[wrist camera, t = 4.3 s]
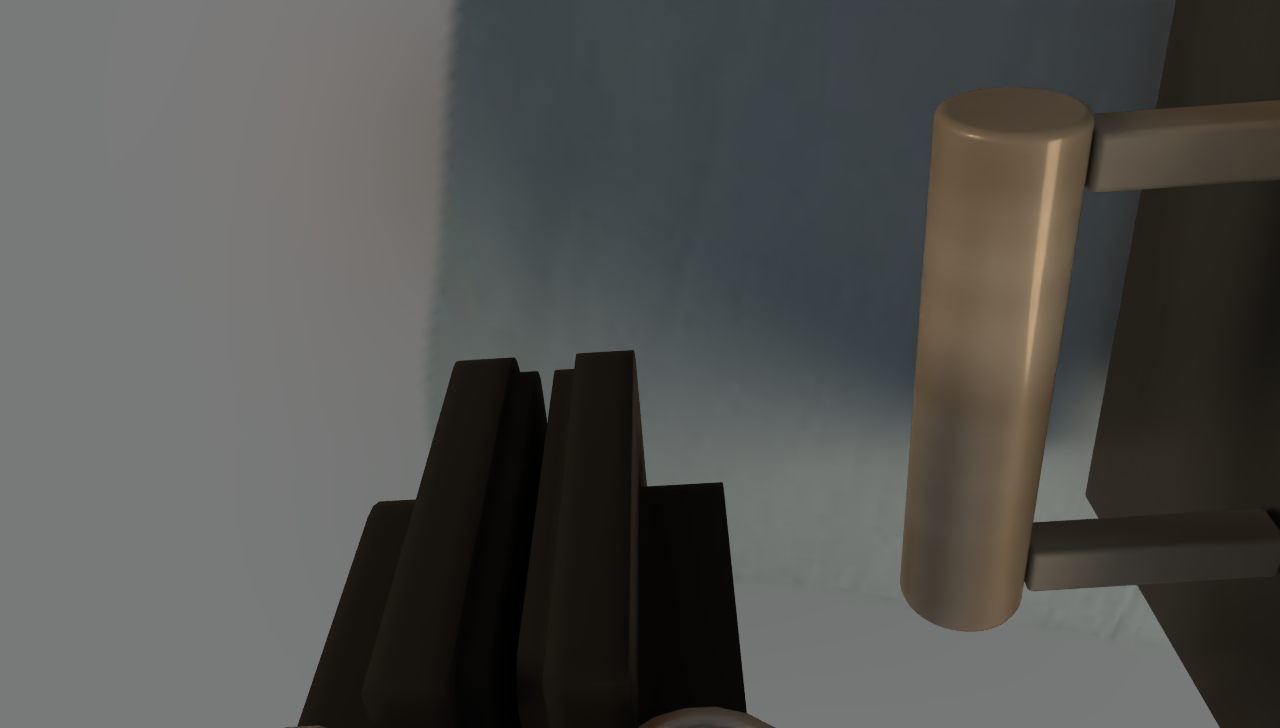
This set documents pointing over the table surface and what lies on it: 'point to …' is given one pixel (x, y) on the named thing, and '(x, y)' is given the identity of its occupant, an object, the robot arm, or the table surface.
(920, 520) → the drawer
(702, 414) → the table surface
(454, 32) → the table surface
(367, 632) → the robot arm
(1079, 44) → the table surface
